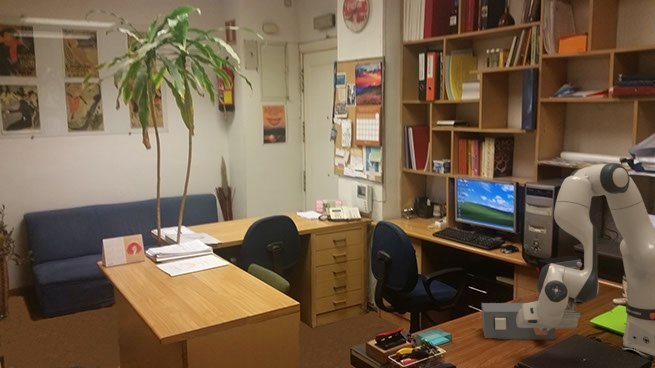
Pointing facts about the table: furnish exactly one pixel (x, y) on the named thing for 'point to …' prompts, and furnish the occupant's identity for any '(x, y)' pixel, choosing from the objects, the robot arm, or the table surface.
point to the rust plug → (540, 332)
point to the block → (508, 322)
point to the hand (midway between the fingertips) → (544, 329)
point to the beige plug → (500, 323)
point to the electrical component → (562, 263)
